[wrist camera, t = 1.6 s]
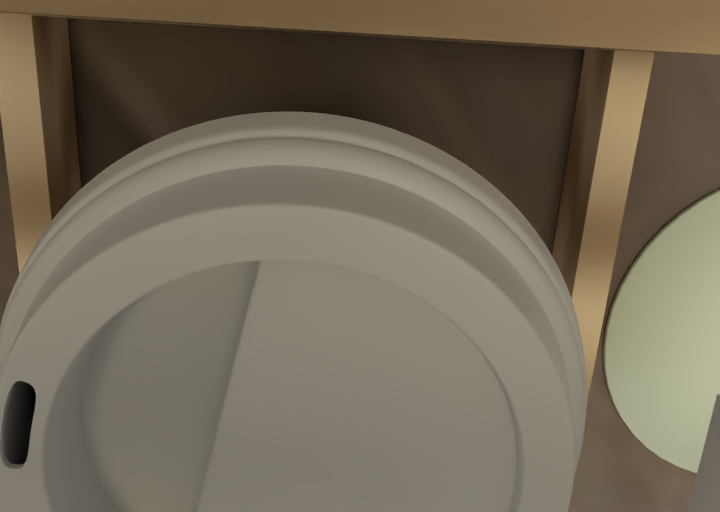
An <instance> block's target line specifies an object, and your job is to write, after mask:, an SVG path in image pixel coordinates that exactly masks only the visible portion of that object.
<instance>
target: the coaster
mask: <svg viewBox="0 0 720 512" xmlns="http://www.w3.org/2000/svg"><path fill="white" fill-rule="evenodd" d="M603 367H604V372H605V378H606V384H607V387H608V390H609V393H610V396H611V399H612V401H613V403H614V405H615V407H616V409H617V411H618V413H619V415H620V417H621V418H622V419H623V421H624V422H625V424H626V425H627V426H628V427H629V429H630V430H631V431H632V433H633V434H634V435H635V436H636V437H637V438H638V439H639V440H640V441H641V442H642V443H643V444H644V445H645V446H646V447H647V448H648V449H650V450H651V451H652V452H654V453H655V454H657V455H658V456H659V457H661V458H662V459H664V460H666V461H668V462H670V463H672V464H674V465H676V466H678V467H681V468H683V469H686V470H689V471H692V472H695V473H697V472H698V468H699V464H700V460H701V456H702V452H703V448H704V444H705V440H706V436H707V432H708V428H709V424H710V420H711V416H712V412H713V408H714V404H715V400H716V396H717V394H720V188H719V189H718V190H716V191H714V192H712V193H710V194H708V195H706V196H704V197H703V198H701V199H699V200H698V201H696V202H695V203H693V204H692V205H690V206H689V207H687V208H686V209H685V210H683V211H682V212H680V213H679V214H678V215H677V216H675V217H674V218H673V219H672V220H671V221H670V222H668V223H667V224H666V225H665V226H664V227H663V228H661V229H660V230H659V232H658V233H657V234H656V235H655V236H654V237H653V238H652V239H651V240H650V241H649V242H648V243H647V245H646V246H645V247H644V248H643V249H642V251H641V252H640V253H639V255H638V256H637V258H636V259H635V260H634V262H633V263H632V264H631V266H630V267H629V269H628V271H627V273H626V274H625V276H624V278H623V280H622V282H621V283H620V285H619V287H618V290H617V292H616V295H615V297H614V299H613V302H612V304H611V307H610V311H609V315H608V318H607V322H606V326H605V334H604V342H603Z"/></svg>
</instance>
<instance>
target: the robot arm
mask: <svg viewBox="0 0 720 512" xmlns="http://www.w3.org/2000/svg"><path fill="white" fill-rule="evenodd" d="M687 512H720V394H717V396H716V400H715V404H714V408H713V412H712V416H711V420H710V424H709V428H708V432H707V436H706V440H705V444H704V448H703V452H702V456H701V460H700V464H699V468H698V472H697V476H696V480H695V484H694V488H693V492H692V496H691V500H690V503H689V507H688V511H687Z"/></svg>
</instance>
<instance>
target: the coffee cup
mask: <svg viewBox="0 0 720 512" xmlns="http://www.w3.org/2000/svg"><path fill="white" fill-rule="evenodd" d="M586 407H587V374H586V363H585V355H584V350H583V344H582V339H581V334H580V328H579V324H578V319H577V316H576V312H575V308H574V305H573V302H572V299H571V296H570V293H569V291H568V288H567V285H566V283H565V281H564V279H563V276H562V274H561V272H560V270H559V268H558V266H557V264H556V262H555V260H554V259H553V257H552V255H551V253H550V252H549V250H548V248H547V247H546V245H545V244H544V242H543V241H542V239H541V238H540V236H539V235H538V233H537V232H536V231H535V229H534V228H533V227H532V225H531V224H530V223H529V222H528V220H527V219H526V218H525V217H524V216H523V215H522V213H521V212H520V211H519V210H518V209H517V208H516V207H515V206H514V205H513V204H512V203H511V202H510V201H509V200H508V199H507V198H506V197H505V196H504V195H503V194H502V193H501V192H500V191H499V190H498V189H497V188H495V187H494V186H493V185H492V184H491V183H490V182H488V181H487V180H486V179H485V178H483V177H482V176H481V175H480V174H478V173H477V172H475V171H474V170H473V169H471V168H470V167H468V166H467V165H465V164H464V163H462V162H461V161H459V160H458V159H456V158H454V157H453V156H451V155H449V154H448V153H446V152H444V151H442V150H440V149H438V148H437V147H435V146H433V145H431V144H429V143H426V142H424V141H422V140H420V139H418V138H415V137H413V136H411V135H408V134H406V133H403V132H400V131H397V130H395V129H392V128H389V127H385V126H382V125H379V124H375V123H372V122H368V121H364V120H359V119H355V118H350V117H344V116H339V115H331V114H324V113H312V112H262V113H251V114H244V115H236V116H231V117H225V118H220V119H216V120H211V121H207V122H204V123H200V124H196V125H193V126H190V127H187V128H184V129H181V130H178V131H175V132H173V133H170V134H168V135H165V136H163V137H161V138H158V139H156V140H154V141H152V142H150V143H148V144H146V145H144V146H142V147H140V148H138V149H136V150H134V151H133V152H131V153H129V154H127V155H126V156H124V157H122V158H121V159H119V160H118V161H116V162H115V163H113V164H112V165H110V166H109V167H107V168H106V169H105V170H103V171H102V172H101V173H99V174H98V175H97V176H95V177H94V178H93V179H92V180H91V181H89V182H88V183H87V184H86V185H85V186H84V187H83V188H82V189H80V190H79V191H78V192H77V193H76V194H75V195H74V196H73V197H72V198H71V199H70V200H69V201H68V202H67V203H66V204H65V206H64V207H63V208H62V209H61V210H60V211H59V212H58V214H57V215H56V216H55V217H54V219H53V220H52V221H51V222H50V224H49V225H48V227H47V228H46V229H45V231H44V232H43V234H42V235H41V237H40V238H39V240H38V241H37V243H36V245H35V246H34V248H33V250H32V252H31V253H30V255H29V257H28V259H27V261H26V263H25V265H24V267H23V269H22V271H21V273H20V275H19V277H18V279H17V281H16V283H15V285H14V287H13V290H12V292H11V294H10V297H9V300H8V302H7V305H6V308H5V311H4V314H3V318H2V321H1V325H0V512H568V508H569V504H570V499H571V495H572V489H573V482H574V475H575V472H576V469H577V465H578V462H579V457H580V453H581V449H582V443H583V437H584V429H585V418H586Z"/></svg>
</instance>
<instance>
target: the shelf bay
mask: <svg viewBox="0 0 720 512" xmlns="http://www.w3.org/2000/svg"><path fill="white" fill-rule="evenodd" d="M67 18H71V19H87V20H104V21H121V22H137V23H154V24H170V25H187V26H204V27H220V28H237V29H253V30H270V31H287V32H303V33H320V34H336V35H353V36H370V37H386V38H403V39H420V40H436V41H453V42H469V43H486V44H503V45H519V46H536V47H552V48H569V49H585V52H584V58H583V65H582V71H581V77H580V83H579V90H578V96H577V102H576V108H575V115H574V121H573V127H572V134H571V140H570V146H569V152H568V159H567V165H566V171H565V177H564V184H563V190H562V196H561V202H560V209H559V215H558V221H557V228H556V234H555V240H554V246H553V253H552V257H553V259H554V260H555V262H556V264H557V266H558V268H559V270H560V272H561V274H562V276H563V279H564V281H565V283H566V285H567V288H568V291H569V293H570V296H571V299H572V302H573V305H574V308H575V312H576V316H577V319H578V324H579V328H580V334H581V339H582V344H583V350H584V355H585V363H586V374H587V401H588V396H589V390H590V385H591V380H592V375H593V370H594V364H595V359H596V354H597V349H598V344H599V339H600V333H601V328H602V323H603V318H604V313H605V307H606V302H607V297H608V292H609V287H610V281H611V276H612V271H613V266H614V261H615V255H616V250H617V245H618V240H619V235H620V230H621V224H622V219H623V214H624V209H625V204H626V198H627V193H628V188H629V183H630V178H631V172H632V167H633V162H634V157H635V152H636V146H637V141H638V136H639V131H640V126H641V121H642V115H643V110H644V105H645V100H646V95H647V89H648V84H649V79H650V74H651V69H652V63H653V58H654V53H681V54H713V55H720V0H0V114H1V122H2V131H3V139H4V147H5V156H6V164H7V173H8V181H9V190H10V198H11V206H12V215H13V223H14V232H15V240H16V249H17V257H18V266H19V274H20V273H21V271H22V269H23V267H24V265H25V263H26V261H27V259H28V257H29V255H30V253H31V252H32V250H33V248H34V246H35V245H36V243H37V241H38V240H39V238H40V237H41V235H42V234H43V232H44V231H45V229H46V228H47V227H48V225H49V224H50V222H51V221H52V220H53V219H54V217H55V216H56V215H57V214H58V212H59V211H60V210H61V209H62V208H63V207H64V206H65V204H66V203H67V202H68V201H69V200H70V199H71V198H72V197H73V196H74V195H75V194H76V193H77V192H78V191H79V190H80V189H81V178H80V166H79V153H78V141H77V129H76V117H75V105H74V93H73V81H72V68H71V56H70V44H69V32H68V20H67Z"/></svg>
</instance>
